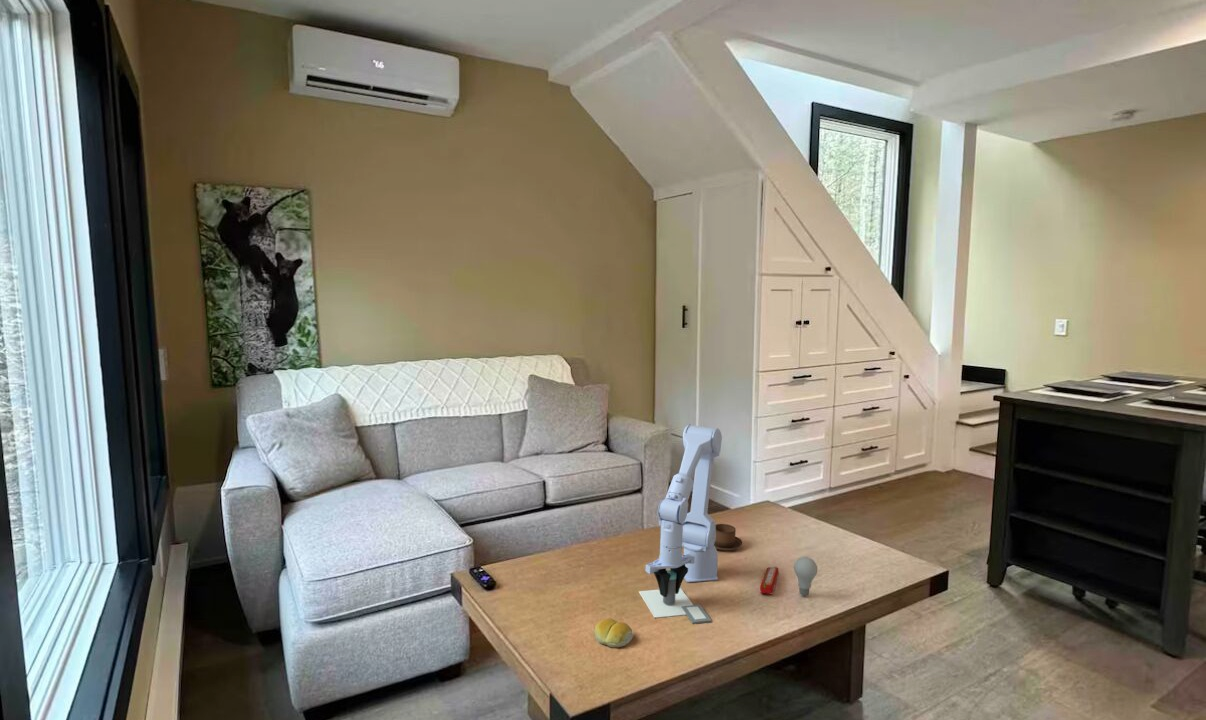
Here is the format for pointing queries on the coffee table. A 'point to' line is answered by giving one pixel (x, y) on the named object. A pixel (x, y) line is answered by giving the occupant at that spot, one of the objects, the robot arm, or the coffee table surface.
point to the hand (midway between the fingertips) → (669, 593)
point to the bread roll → (613, 633)
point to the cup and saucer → (726, 538)
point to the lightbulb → (805, 574)
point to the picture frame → (696, 614)
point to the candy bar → (769, 580)
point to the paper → (661, 609)
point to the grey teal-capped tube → (671, 588)
